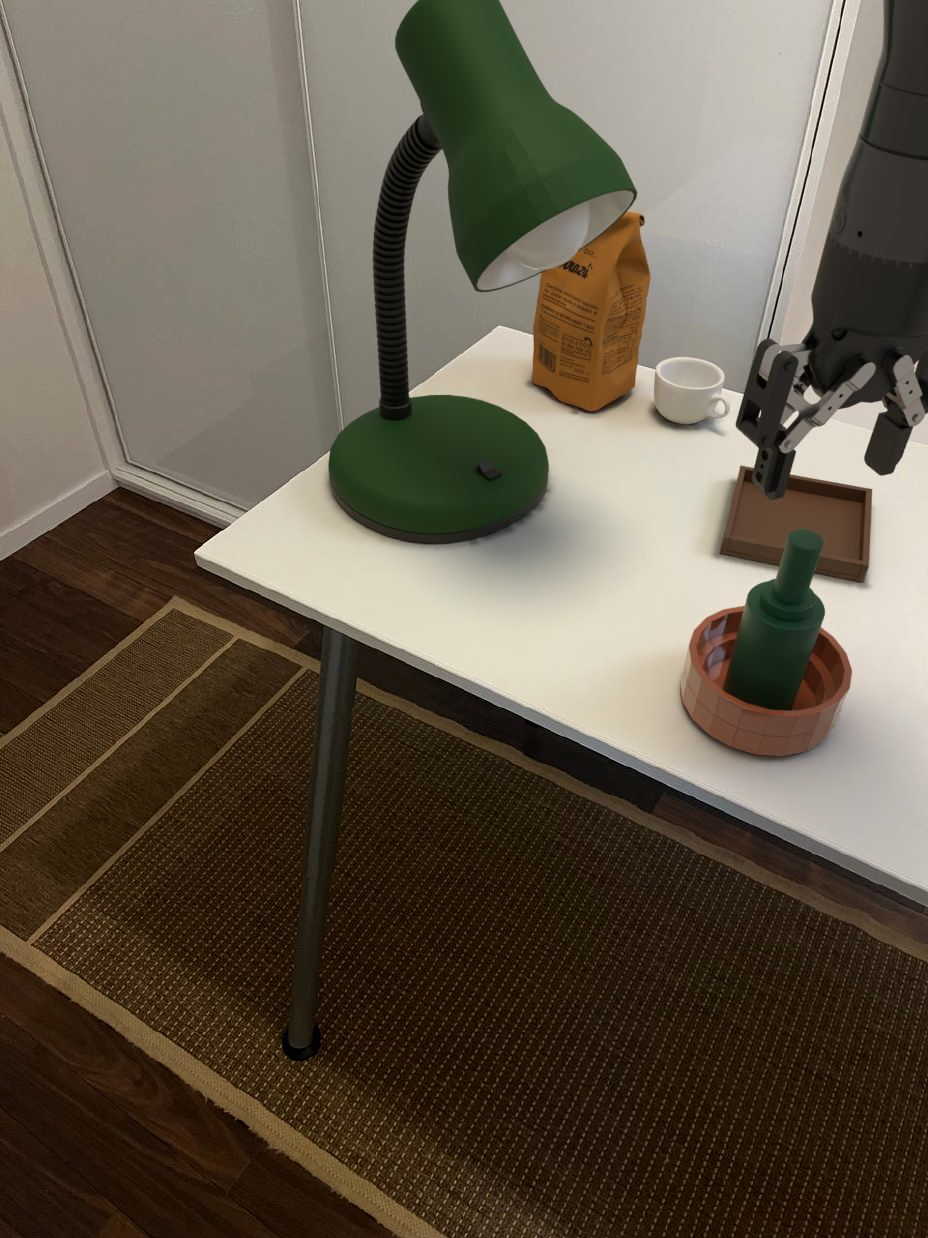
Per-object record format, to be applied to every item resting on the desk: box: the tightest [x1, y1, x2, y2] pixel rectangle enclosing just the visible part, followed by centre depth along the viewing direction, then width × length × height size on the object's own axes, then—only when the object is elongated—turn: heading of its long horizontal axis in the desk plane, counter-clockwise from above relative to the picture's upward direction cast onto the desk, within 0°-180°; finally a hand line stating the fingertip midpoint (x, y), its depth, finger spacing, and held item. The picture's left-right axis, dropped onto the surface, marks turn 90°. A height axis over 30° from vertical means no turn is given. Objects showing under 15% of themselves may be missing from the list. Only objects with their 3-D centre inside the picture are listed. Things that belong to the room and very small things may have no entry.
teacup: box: [653, 356, 731, 425], centre depth 108 cm, size 10×8×5 cm
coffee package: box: [531, 211, 652, 412], centre depth 108 cm, size 10×12×22 cm
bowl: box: [679, 605, 853, 757], centre depth 75 cm, size 12×12×5 cm
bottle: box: [722, 529, 826, 711], centre depth 71 cm, size 6×6×16 cm
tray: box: [719, 465, 873, 583], centre depth 93 cm, size 13×13×2 cm
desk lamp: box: [327, 0, 638, 544], centre depth 83 cm, size 31×23×45 cm
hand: (823, 480), depth 62 cm, fingers open, 8 cm apart
